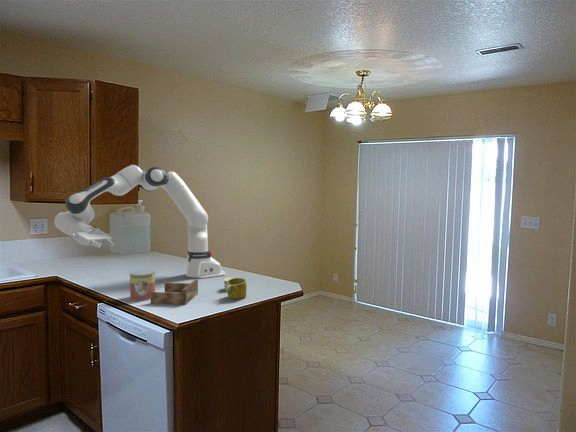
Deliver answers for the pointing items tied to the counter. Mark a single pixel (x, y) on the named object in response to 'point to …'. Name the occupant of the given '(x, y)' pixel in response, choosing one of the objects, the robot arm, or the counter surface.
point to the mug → (236, 288)
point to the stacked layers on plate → (226, 281)
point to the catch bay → (176, 293)
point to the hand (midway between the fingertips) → (106, 246)
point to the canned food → (142, 284)
